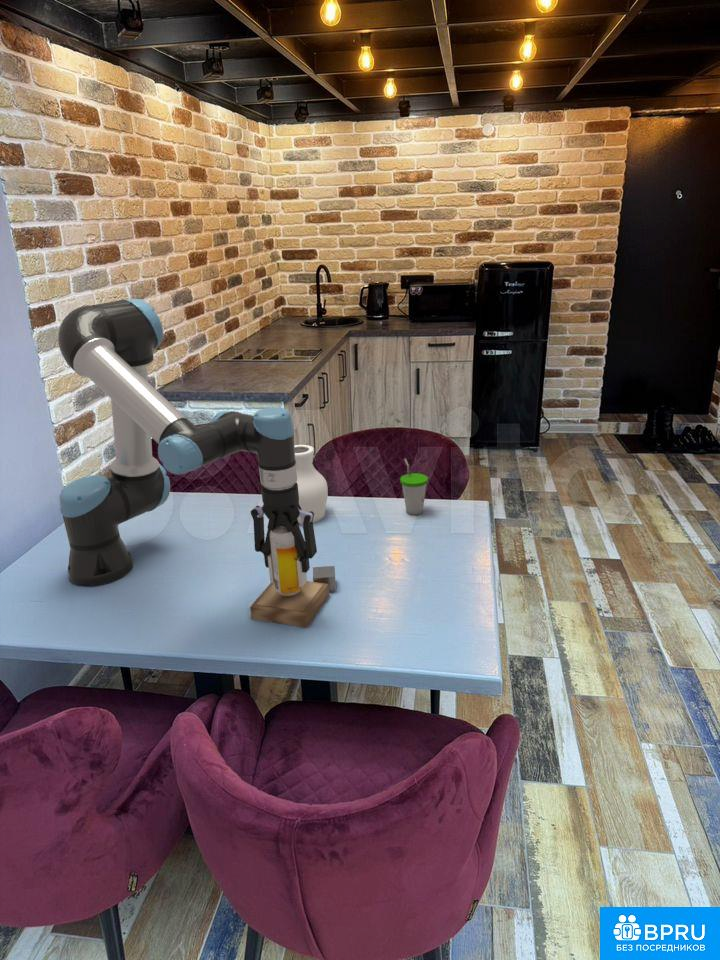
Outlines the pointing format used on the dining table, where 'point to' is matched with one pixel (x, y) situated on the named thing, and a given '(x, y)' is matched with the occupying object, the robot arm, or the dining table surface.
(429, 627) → the dining table surface
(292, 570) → the beer can
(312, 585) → the plinth
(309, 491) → the vase
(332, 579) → the steel block
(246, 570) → the dining table surface
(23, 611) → the dining table surface
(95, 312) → the robot arm
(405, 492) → the cup
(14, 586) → the dining table surface
